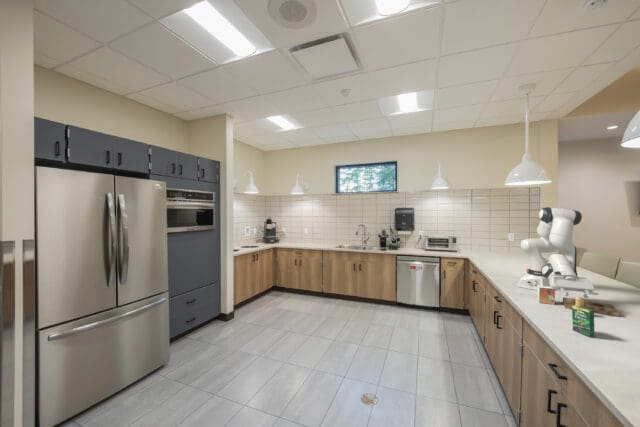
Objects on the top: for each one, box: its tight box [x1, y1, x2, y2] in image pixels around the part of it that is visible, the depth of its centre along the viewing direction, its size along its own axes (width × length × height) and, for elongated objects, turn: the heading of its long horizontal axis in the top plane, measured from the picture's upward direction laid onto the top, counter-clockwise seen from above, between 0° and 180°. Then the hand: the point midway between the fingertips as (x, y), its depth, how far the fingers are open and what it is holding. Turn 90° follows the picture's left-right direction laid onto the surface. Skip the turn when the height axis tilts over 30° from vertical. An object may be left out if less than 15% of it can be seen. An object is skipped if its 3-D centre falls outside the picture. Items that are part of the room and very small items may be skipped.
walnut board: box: [562, 296, 620, 318], centre depth 155 cm, size 22×12×4 cm, turn 52°
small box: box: [536, 285, 556, 306], centre depth 166 cm, size 8×6×10 cm
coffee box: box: [571, 305, 595, 338], centre depth 125 cm, size 8×3×13 cm, turn 6°
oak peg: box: [574, 296, 585, 307], centre depth 147 cm, size 4×4×10 cm
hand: (576, 296), depth 149 cm, fingers open, 8 cm apart
